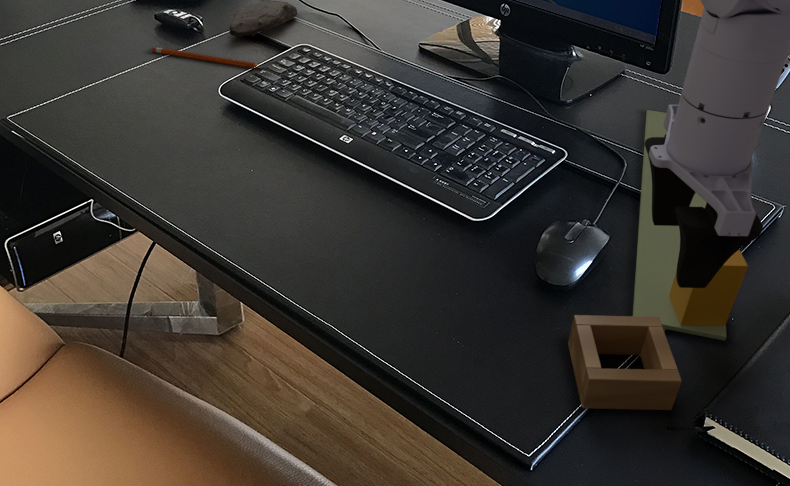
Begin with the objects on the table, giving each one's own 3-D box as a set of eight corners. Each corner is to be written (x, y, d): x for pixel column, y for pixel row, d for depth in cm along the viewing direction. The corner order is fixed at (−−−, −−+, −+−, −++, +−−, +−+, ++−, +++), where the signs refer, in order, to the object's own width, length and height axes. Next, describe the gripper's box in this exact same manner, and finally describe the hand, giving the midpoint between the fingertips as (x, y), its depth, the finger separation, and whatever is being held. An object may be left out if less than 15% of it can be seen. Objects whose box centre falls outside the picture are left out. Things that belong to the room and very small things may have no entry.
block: (725, 326, 70) (748, 266, 66) (680, 325, 70) (700, 265, 66) (711, 295, 73) (732, 236, 69) (668, 295, 73) (687, 235, 69)
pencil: (155, 50, 114) (154, 46, 113) (267, 69, 110) (267, 64, 109) (152, 52, 113) (151, 48, 113) (265, 71, 109) (264, 66, 109)
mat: (725, 340, 69) (726, 336, 69) (632, 322, 71) (633, 318, 70) (711, 122, 99) (712, 119, 99) (646, 113, 101) (647, 109, 101)
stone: (289, 8, 125) (302, -11, 121) (302, 42, 124) (315, 25, 120) (213, 10, 118) (224, -10, 114) (226, 46, 117) (238, 28, 113)
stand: (671, 410, 63) (682, 381, 61) (581, 408, 63) (589, 379, 61) (650, 345, 69) (659, 316, 66) (567, 343, 69) (573, 314, 66)
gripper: (641, 51, 59) (609, 198, 68) (696, 153, 48) (648, 315, 56) (735, 53, 59) (690, 200, 68) (812, 156, 48) (747, 317, 56)
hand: (677, 252), depth 62 cm, fingers open, 7 cm apart
